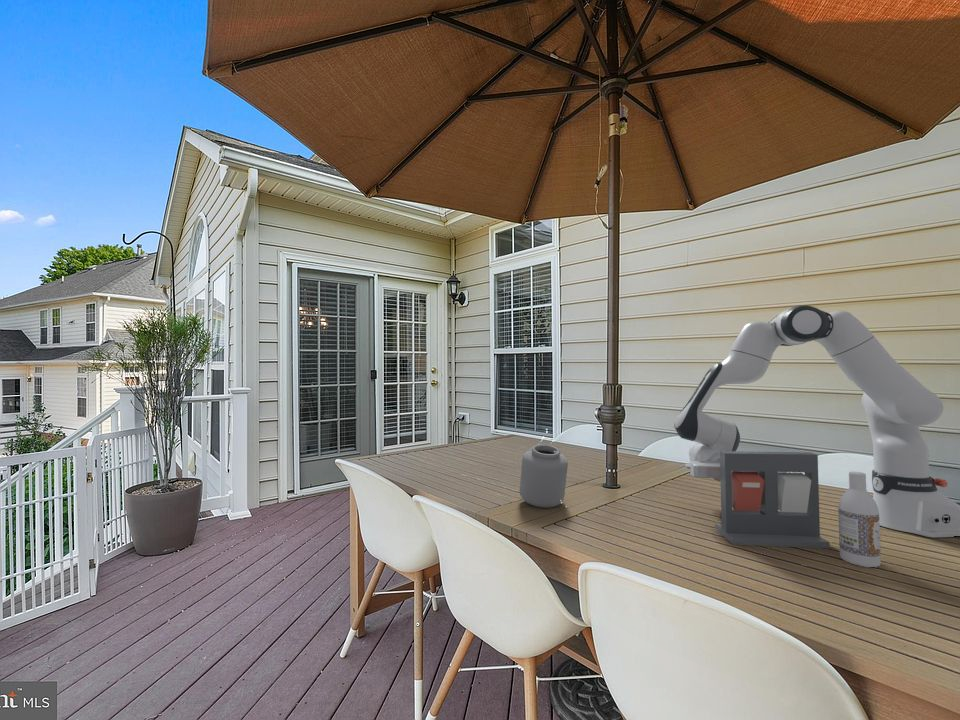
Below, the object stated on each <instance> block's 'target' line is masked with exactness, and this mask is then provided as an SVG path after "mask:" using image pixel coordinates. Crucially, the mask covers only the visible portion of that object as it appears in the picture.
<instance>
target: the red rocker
mask: <svg viewBox="0 0 960 720" xmlns="http://www.w3.org/2000/svg"><path fill="white" fill-rule="evenodd" d="M731 479H732V510H743V511H760V505H761V498H762V492H763V486H764V480H763V478H762V477H761V476H760V475H759V474H758V473H757V472H734V471H732V475H731Z"/></svg>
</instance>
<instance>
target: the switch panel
mask: <svg viewBox="0 0 960 720" xmlns="http://www.w3.org/2000/svg"><path fill="white" fill-rule="evenodd" d="M818 456H819V455H818V454H816V453H814V452H810V451H808V452H805V451H803V452H802V451H796V452H795V451H746V450H745V451H742V450H741V451H739V450H738V451H737V450H736V451H720V479H721V481H720V511H721V512H720V513H721V515H720V516H721V520H720V521H721V523H716V528H715V530H716V531H717V532H718V533H720V534H721V535H722V537H724V538H725V539H726V540H727V541H729V543H731V544H732V545H741V546H743V545H744V546H763V547H767V546H768V547H783V548H785V547H786V548H787V547H791V548H808V549H809V548H812V549H814V548H815V549H830V541H828V540H826V539H825V538H823V537H821V529H820V524H821V523H820V494H819V493H820V488H819V486H820V485H819V459H818V458H819V457H818ZM731 471H759V475H760V476H761V477H762V478H763V480H764V486H763V492H762V498H761V505H760V511H743V510H734V509H733V507H732V479H731ZM777 472H789V473H803V474H804V475H805V476H806V477H808V478H809V479H810V480H811V487H810V494H809V501H808V508H807V513H799V512H781V511H779V509H778V476H777Z"/></svg>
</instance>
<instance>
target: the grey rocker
mask: <svg viewBox="0 0 960 720" xmlns="http://www.w3.org/2000/svg"><path fill="white" fill-rule="evenodd" d="M777 476H778V511H779V512H799V513H807V508H808V501H809V494H810V487H811V480H810V479H809V478H808V477H806V476H805V473H804V472H777Z"/></svg>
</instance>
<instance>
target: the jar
mask: <svg viewBox="0 0 960 720" xmlns="http://www.w3.org/2000/svg"><path fill="white" fill-rule="evenodd" d="M545 430H546V431H545V432H546V433H547V434H548V428H546V429H545ZM543 439H545V436H542V439H541V441H540V443H541V442H542V440H543ZM552 442H553V443H554V440H552ZM552 442H551V443H552ZM568 462H569V461H568V460H567V458H566V456H565V455H563V454H562V453H561V450H560V449H559V448H558V447H555V446H552V445H549V444H535V445H533V446H532V447H531V449H530V450H527V451H525V452H524V453H523V455H522V459H521V470H520V471H521V473H520V482H519V483H520V484H519V496H520V497H521V499H522V500H524V502H525V503H527V504H528V505H531V506H533V507H536V508H541V509H542V508H543V509H549V508H555V507H557V506H559V505H561V504H563V501H564V499H565V493H566V492H565V491H566V487H567V486H566V485H567V484H566V483H567V474H568V466H569V463H568ZM565 508H567V506H565Z"/></svg>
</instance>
